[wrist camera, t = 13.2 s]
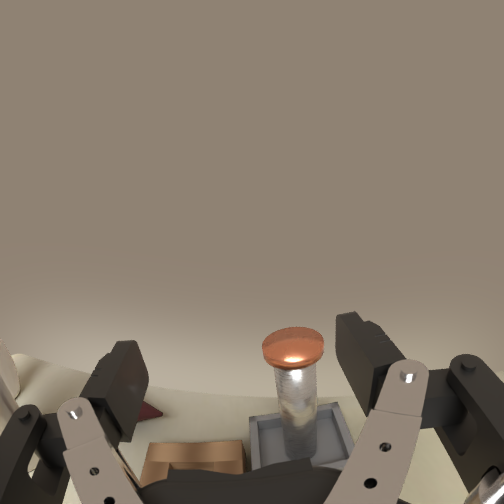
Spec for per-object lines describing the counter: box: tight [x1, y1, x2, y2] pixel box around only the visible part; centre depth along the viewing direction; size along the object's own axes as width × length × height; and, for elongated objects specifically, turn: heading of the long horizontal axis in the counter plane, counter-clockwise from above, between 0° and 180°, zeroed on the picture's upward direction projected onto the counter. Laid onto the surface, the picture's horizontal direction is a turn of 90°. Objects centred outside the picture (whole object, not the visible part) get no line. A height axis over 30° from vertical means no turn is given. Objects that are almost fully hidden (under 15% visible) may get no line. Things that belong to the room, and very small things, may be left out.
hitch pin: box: [262, 327, 324, 460], centre depth 29 cm, size 6×6×17 cm
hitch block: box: [140, 440, 247, 487], centre depth 26 cm, size 12×12×4 cm
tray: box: [249, 402, 355, 471], centre depth 31 cm, size 12×11×3 cm
